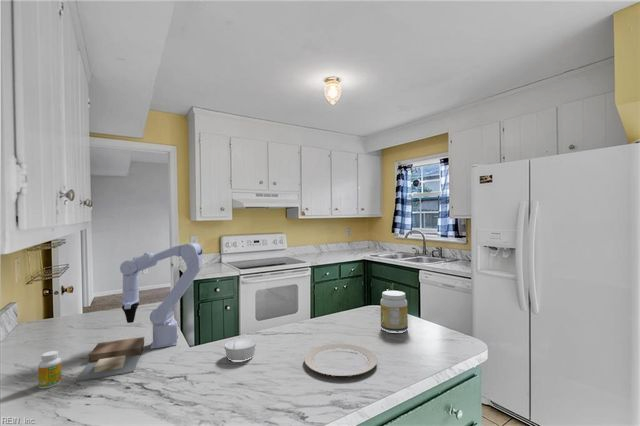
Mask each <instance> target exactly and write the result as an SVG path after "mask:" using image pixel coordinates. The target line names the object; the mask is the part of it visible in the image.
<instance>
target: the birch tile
mask: <svg viewBox="0 0 640 426" xmlns="http://www.w3.org/2000/svg"><path fill="white" fill-rule="evenodd" d="M124 363H125V356H118V357H112V358H105V359H99V360H98V362H97V363H96V365H95V366H94V373H95V372H101V371H107V370H114V369H120V368H122V367H123V365H124Z"/></svg>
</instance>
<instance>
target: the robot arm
mask: <svg viewBox="0 0 640 426" xmlns="http://www.w3.org/2000/svg"><path fill="white" fill-rule="evenodd" d="M203 255H204V251H203V248H202V245H201V244H200V243H198V242H196V241H195V242H194V241H193V242H190V243H185V244H181V245H175V246H173V247H172V246H171V247H170V248H168V249H165V250H162V251H160V252H157V253H153V252H148V251H147V252H145V253H143V255H140V256H138V257H137V256H134V257H132V259H130V260H129V259H128V260H125V261H123V262H122V263H121V264H120V266H119V271H120V273H121V274H122V299H120V300H119V302H118V303H119V304H122V306H121V310H123V313H124V315H125V319H126V323H127V324H132V323H134V322H135V318H136V312H137V309H138V307H139V305H140V303H139V302H140V297H139V293H140V288H139V287H140V272H141V271H143V270H146V269H149V268H152V267H155V266H156V265H157V264H158V262H159V261H162V260H165V259H168V258H171V257H174V256H175V257H178V258H179V257H181V258H182V260H183V261H184V262H185V265H186V269H185V271H183V273H182V274H181V276H180V277H179V279H178V280H177V282H176V283H175V284H174V286H173V287H172V288H171V290H170V292H169V293H168V294H167V296H166V297H165V299H164V300H163V301H162V302H161V303H160V304H159V305H158V306H157V308H155V309H153V310H152V311H151V312H150V314H149V321H150V322H151V323H152V341H151V345H150V349H158V348H159V349H160V348H165V347H172V346H173V347H174V346H176V345H177V344H178V339H179V334H178V321H177V320H173V318H172V317H173V315H174V314H175V309H176V308H177V305H178V303H179V301H180V300H181V298H182V296H183V295H184V294H185V293H186V292H187V289H189V286H191V284H192V282H193V281H194V280H195V278H196V277H197V275H198V274H199V272H200V271H201V270H202V266H203V263H202V262H203Z"/></svg>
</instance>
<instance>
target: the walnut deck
mask: <svg viewBox="0 0 640 426" xmlns="http://www.w3.org/2000/svg"><path fill="white" fill-rule="evenodd" d="M144 346H145V336H142V337H141V336H140V337H135V338H127V339H119V340H110V341H103V342H98V343H97V344H96V345H95V347H94V348H93V349H92V351H91V352H90V353H89V355H88V363H89V362H96V361H98V360H99V359H105V358H112V357H118V356H125V357H129V356H135V355H140V356H141V353H142V351H143V349H144Z"/></svg>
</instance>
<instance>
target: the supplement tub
mask: <svg viewBox="0 0 640 426" xmlns="http://www.w3.org/2000/svg"><path fill="white" fill-rule="evenodd" d="M381 297H382V298H381V299H380V304H379V305H380V328H381V327H382V328H383V329H385V330H388V331H396V332H399V331H405V330H407V329H409V327H408V326H409V325H408V324H409V322H408V316H409V315H408V300H407V299H406V292H404V291H400V290H385V291H382V293H381ZM407 331H408V330H407Z"/></svg>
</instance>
